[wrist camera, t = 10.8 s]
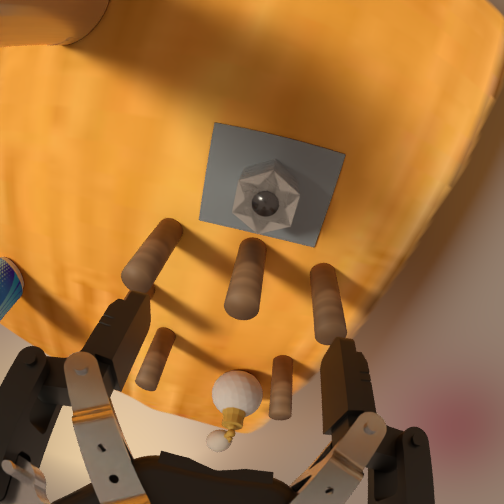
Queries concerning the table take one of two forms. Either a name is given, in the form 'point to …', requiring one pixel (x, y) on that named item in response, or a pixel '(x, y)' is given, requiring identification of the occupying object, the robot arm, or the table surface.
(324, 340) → the post field
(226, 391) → the perfume bottle
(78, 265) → the table surface
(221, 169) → the felt mat
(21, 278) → the beer can
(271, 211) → the nut
